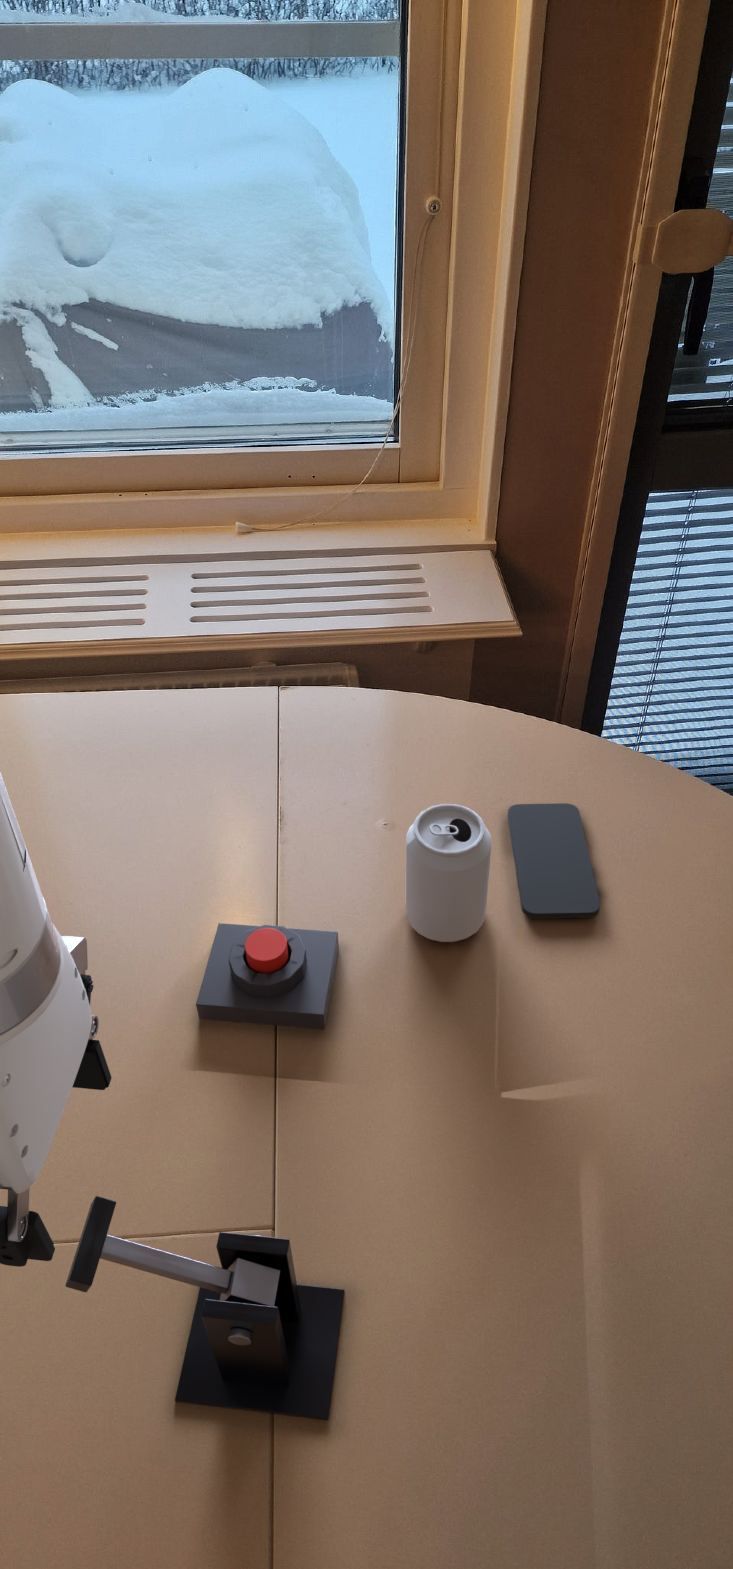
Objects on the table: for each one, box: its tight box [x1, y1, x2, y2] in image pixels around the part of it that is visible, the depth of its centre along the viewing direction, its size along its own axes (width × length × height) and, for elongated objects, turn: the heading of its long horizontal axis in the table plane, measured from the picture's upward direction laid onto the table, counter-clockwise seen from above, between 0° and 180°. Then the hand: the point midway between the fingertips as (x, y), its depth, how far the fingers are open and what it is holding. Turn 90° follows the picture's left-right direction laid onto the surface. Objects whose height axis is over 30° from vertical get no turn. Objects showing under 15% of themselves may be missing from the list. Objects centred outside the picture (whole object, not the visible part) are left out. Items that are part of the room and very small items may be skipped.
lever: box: [64, 1195, 280, 1307], centre depth 62 cm, size 12×5×2 cm, turn 84°
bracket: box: [174, 1231, 346, 1421], centre depth 66 cm, size 10×8×12 cm
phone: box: [507, 802, 601, 919], centre depth 102 cm, size 7×1×15 cm
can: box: [405, 803, 493, 943], centre depth 93 cm, size 8×8×12 cm
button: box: [245, 928, 288, 973], centre depth 89 cm, size 4×4×2 cm
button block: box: [195, 922, 340, 1030], centre depth 91 cm, size 11×9×4 cm
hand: (55, 1161), depth 54 cm, fingers open, 9 cm apart
